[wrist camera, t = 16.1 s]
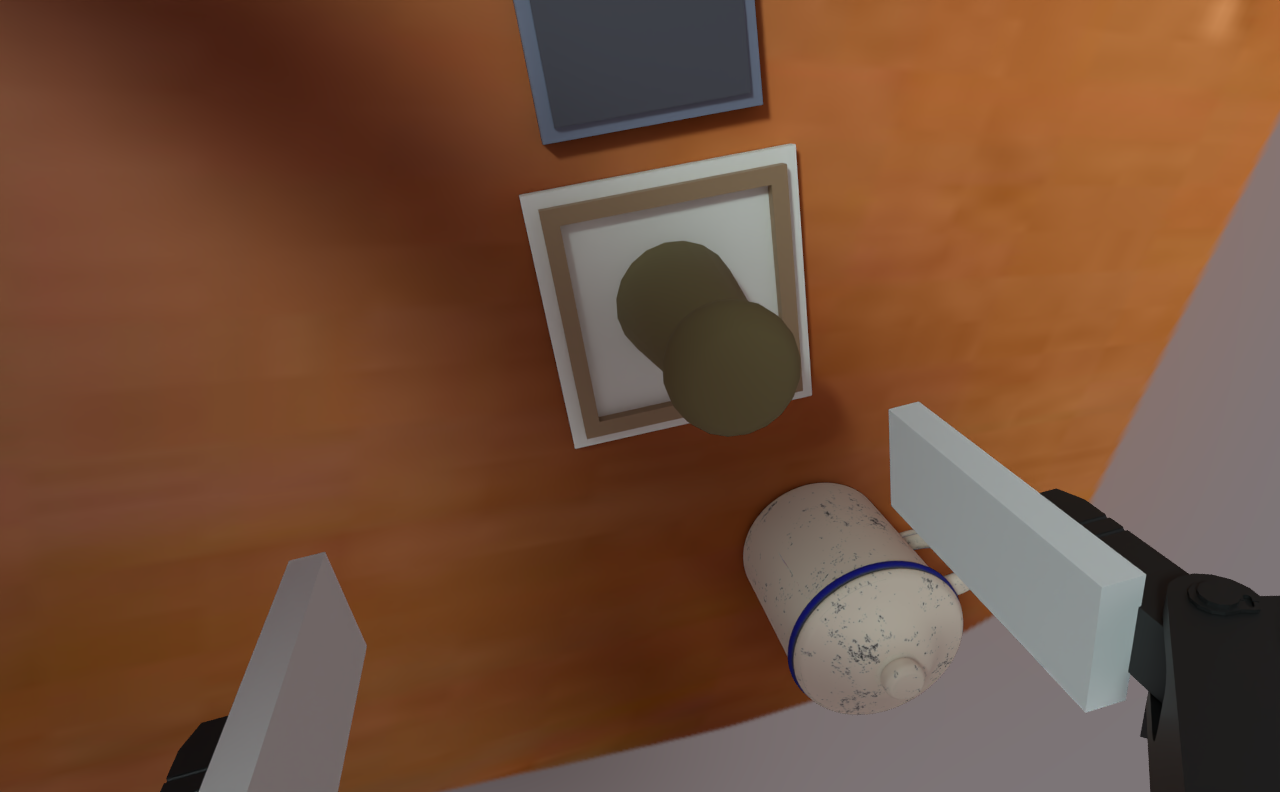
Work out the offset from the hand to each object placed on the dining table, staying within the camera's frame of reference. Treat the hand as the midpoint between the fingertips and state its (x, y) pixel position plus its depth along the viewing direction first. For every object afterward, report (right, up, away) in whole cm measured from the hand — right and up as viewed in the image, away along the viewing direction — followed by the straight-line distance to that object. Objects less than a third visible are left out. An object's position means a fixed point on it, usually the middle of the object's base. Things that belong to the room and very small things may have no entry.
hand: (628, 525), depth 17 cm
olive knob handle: (+2, +8, +19) cm, 21 cm away
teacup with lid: (+12, -5, +28) cm, 30 cm away
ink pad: (0, +20, +14) cm, 24 cm away
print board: (+2, +8, +20) cm, 21 cm away
